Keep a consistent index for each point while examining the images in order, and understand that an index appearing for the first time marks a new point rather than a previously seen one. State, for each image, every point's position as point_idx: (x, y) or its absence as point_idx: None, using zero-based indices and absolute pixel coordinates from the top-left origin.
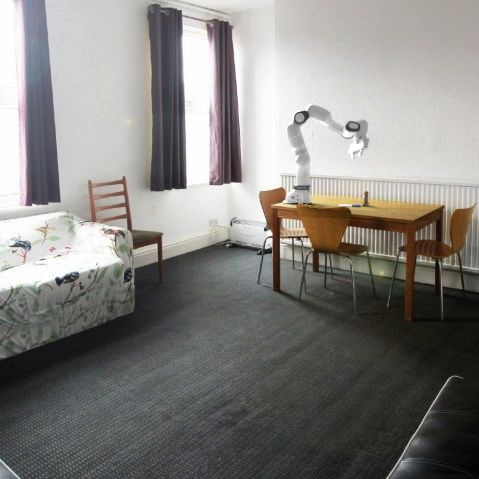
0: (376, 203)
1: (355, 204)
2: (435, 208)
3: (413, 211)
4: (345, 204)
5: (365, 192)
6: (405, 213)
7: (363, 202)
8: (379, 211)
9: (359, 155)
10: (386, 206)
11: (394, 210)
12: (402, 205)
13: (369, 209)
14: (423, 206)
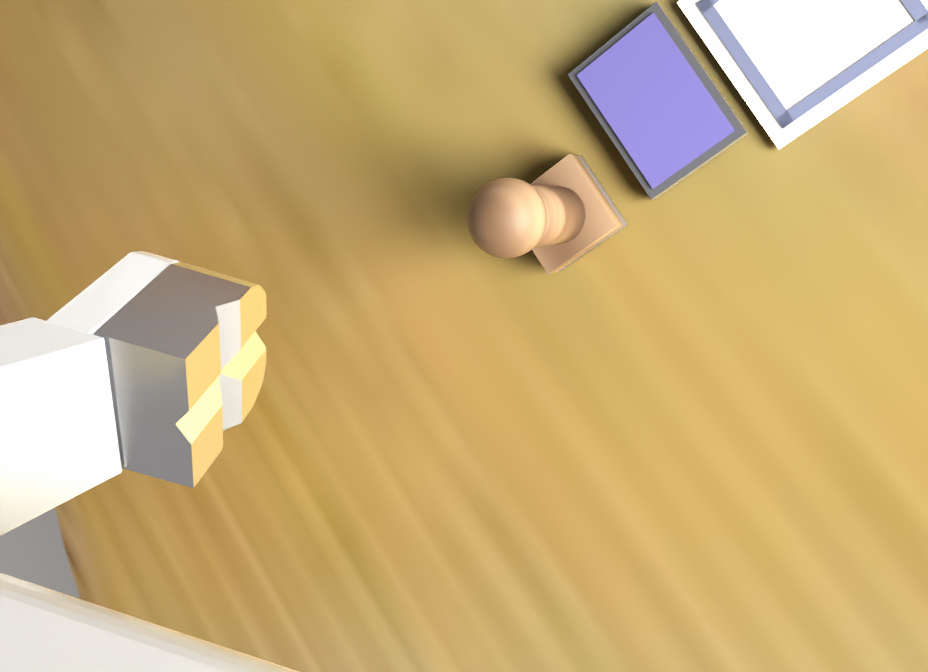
0: (636, 532)
1: (659, 93)
2: (76, 551)
3: (73, 262)
4: (857, 61)
5: (489, 183)
6: (45, 105)
7: (604, 220)
8: (231, 2)
9: (190, 269)
10: (398, 377)
11: (190, 184)
12: (338, 556)
13: (377, 27)
14: (189, 608)
